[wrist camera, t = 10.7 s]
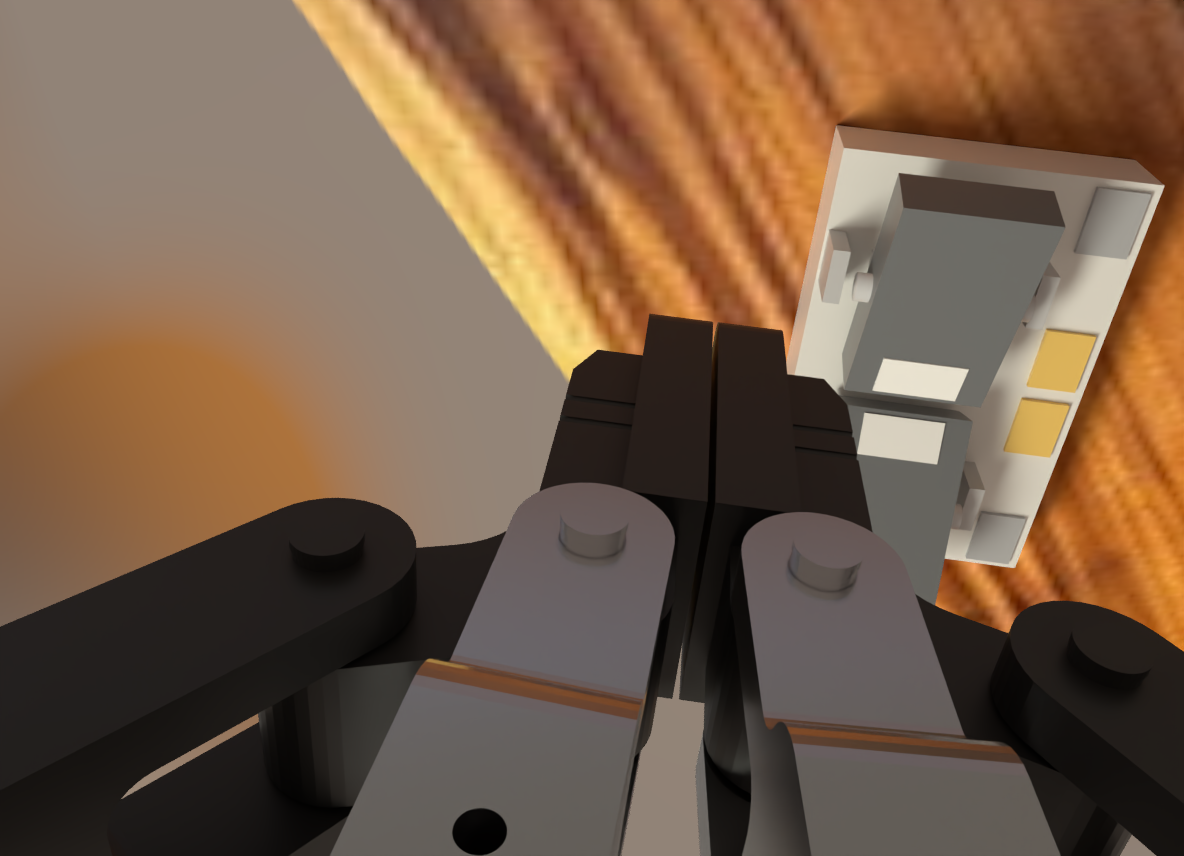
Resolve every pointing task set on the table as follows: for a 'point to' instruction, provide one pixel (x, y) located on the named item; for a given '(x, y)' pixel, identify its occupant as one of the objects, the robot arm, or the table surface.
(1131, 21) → the table surface
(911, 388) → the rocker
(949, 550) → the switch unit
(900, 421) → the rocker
